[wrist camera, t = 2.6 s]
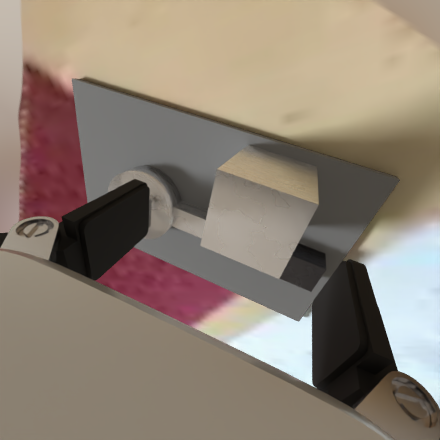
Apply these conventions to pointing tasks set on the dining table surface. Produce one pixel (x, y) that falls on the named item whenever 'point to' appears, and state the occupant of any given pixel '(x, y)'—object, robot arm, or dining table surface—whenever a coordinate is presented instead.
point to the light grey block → (260, 208)
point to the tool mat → (204, 180)
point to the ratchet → (196, 217)
